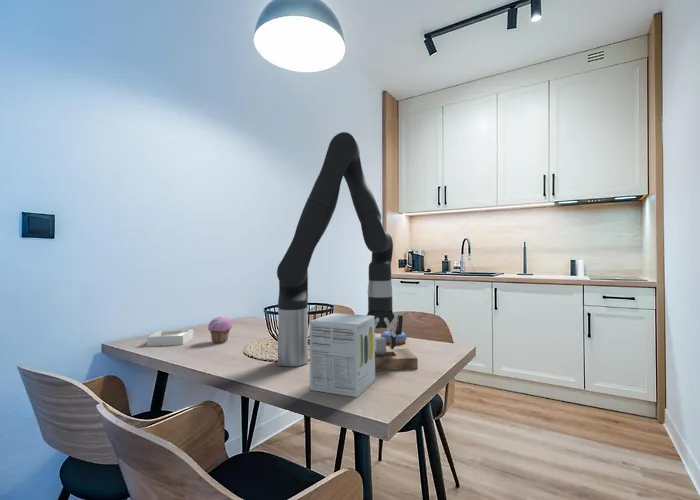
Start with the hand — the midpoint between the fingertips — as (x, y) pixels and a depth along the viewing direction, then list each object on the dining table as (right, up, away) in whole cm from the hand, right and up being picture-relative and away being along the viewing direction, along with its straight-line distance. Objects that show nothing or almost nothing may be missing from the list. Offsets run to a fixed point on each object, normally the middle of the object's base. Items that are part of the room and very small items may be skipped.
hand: (380, 348), depth 112 cm
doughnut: (+7, -5, +29) cm, 30 cm away
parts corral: (-81, -6, +33) cm, 88 cm away
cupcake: (-61, -6, +31) cm, 68 cm away
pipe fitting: (-80, -7, +33) cm, 87 cm away
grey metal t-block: (0, -5, 0) cm, 5 cm away
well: (0, -5, 0) cm, 5 cm away
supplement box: (-11, -5, -18) cm, 22 cm away
